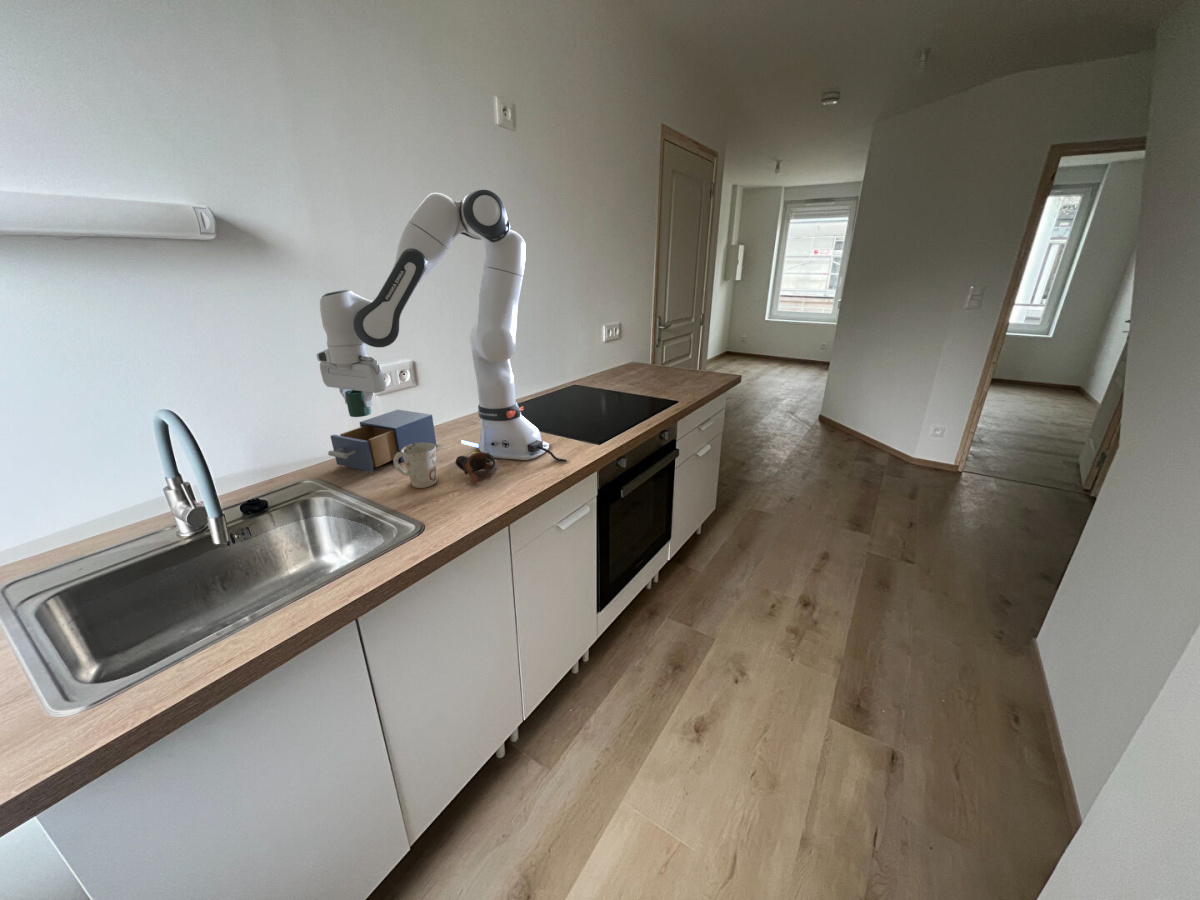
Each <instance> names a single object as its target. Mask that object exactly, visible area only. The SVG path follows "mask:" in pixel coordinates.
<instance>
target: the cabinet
mask: <svg viewBox="0 0 1200 900" xmlns="http://www.w3.org/2000/svg"><path fill="white" fill-rule="evenodd" d="M433 417H434V416H433V414H430V413H424V412H423V413H422V412H417V411H409V410H403V409H395V410H392V411H389V412H386V413H383V414H379V415H377V416H374V417H371V418H367V419H365V420H362V421H359V427H362V426H371V427H377V428H383V429H388V430H394V434H395V439H396V445H397V450H398V452H401V450H402V449H403V448H404V447H405V446H408V445H411V444H415V443H432V444H434V445H435V446H436V447H438V445H437V439H436V438H437V437H436V432H435V425H434V419H433ZM403 462H404V459H403V456H402V457H400V458H399V459H398V463H403Z"/></svg>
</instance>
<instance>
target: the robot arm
mask: <svg viewBox="0 0 1200 900" xmlns="http://www.w3.org/2000/svg"><path fill="white" fill-rule="evenodd" d="M458 235H463V236H466V237H468V238H471V239H473V240H480V241H481V240H482V242H483V244H484V248H485V257H484V261H483V268H482V275H481V280H480V287H479V294H478V315H477V322H476V323H474V325H473V326H472V327H471V330H470V333H469V341H470V348H471V349H470V350H471V355H472V363H473V367H474V372H475V373H474V374H475V378H476V379H475V380H476V386H477V396H478V405H477V410H478V411H477V412H478V417H479V420H480V433H479V443H475V442H470V441H467V440H463V439H462V440H461V444H462V445H465V446H470V447H474V448H477V449H478V451H479V452H485V453H489V454H491V455H492V456H493V457H494V458H495V459H506V460H517V461H529V460H532V459H536V458H538V457H539V456H541V455H543V454H544V453H547V454H549V455H550V456H551V457H552V458H553V459H554V460H555V461H557V462H563V463H567V461H568V460H567V459H565V458H559V457H557V456H555V454H554V453H553V452H552V451H551V450H549V449H550V445H549V442H546V441H544V440H542V435H541V432H540V430H539V428H538V427H536V426H535V424H533V423H532V422H530V421H529V419H527V418H526V417H524V416H523V415H522V411H524V405H522V406H520V407H519V404H518V403H517V401H516V388H515V377H514V374H513V370H512V369H513V368H512V364H511V358H512V357H513V356H514V354H515V352H516V347H517V344H516V343H517V342H516V341H517V340H516V339H517V331H518V330H517V328H518V311H519V303H520V301H519V300H520V297H521V296H520V295H521V290H522V284H523V278H524V272H525V263H526V241H525V240H524V238H523V237H522V236H521V234H519V233H518V232H517V231H515V230H513V229H511V224H510V220H509V217H508V214H507V209H506V207H505V204H504V202H503V200H502V199H501V197H500V196H499V195H498V194H497V193H496V192H494V191H492V190H490V189H487V188H476V189H473V190H471V191H470V192H469V193H468V194H467V195H465V197H464V198H463V199H462V200H458V201H457V200H454V199H453V198H451V197H450V196H449V195H446V194H445V193H441V192H432V193H429V194H428V195H427V196H426V197H425V198H424V199H423V200H422V201H421V202H420V203H419V205H418V207H417V208H416V209H415V211H413V213H412V215H411V217H410V219H409V220H408V222H407V223H406V225H405V227H404V229H403V231H402V233H401V236H400V239H399V243H398V246H397V249H396V256H395V261H394V263H393V267H392V269H391V271H390V274H389V275H388V277H387V278H386V280H385V282H384V283H383V285H382V287H381V289H380V291H379V292H378V294H377V296H376V297H375V299H374V300H370V299H368V298H366V297H362V296H361V295H358V294H356V293H355V292H354V291H352V290H350V289H341V290H335V291H331V292H327V293H325V294H323V295H322V296H321V297H320V299H319V311H320V319H321V323H322V328H323V330H324V331H325V334H326V346H327V348H326V349H324V350H322V351H319V352H318V353H316V359H317V361H318V362H319V370H320V375H321V379H322V382H323V384H324V385H325V386H326V387H328V388H334V389H339V393H340V394H341V396H342V397H343V399H344V403H345V405H347V401H346V397H345V392H346V391H350V390H356V391H362V392H363V395H365V397H364V400H363V401H362V403H363V406H364V407H370V408H371V407H372V406H373V403H372V400H373V396H374V394H377V393H381V392H382V393H383V392H385V391H386V388H387V384H386V383H387V382H386V379H385V376H384V372H383V370H382V368H381V365H380V363H379V361H377V359H375V357H373V356H368V352H367V347H366V345H367V346H370V347H373V348H385V347H388V346H391V345H392V344H393V343H394V342H396V340H397V338H398V336H399V333H400V319H401V316H402V313H403V311H404V309H405V307H406V305H407V304H408V302H409V300H410V298H411V297H412V294H413V292H414V291H415V289H416V288H417V286H418V285H419V284H420V282H421V281H423V279H424V278H426V277H427V276H428V275H430V273H431V272H432V271H433V270H434V269H435V268H436V267H437V266H438V265H439V264H440V262H441V261H442V260H443V259H444V257H445V256H446V254H447V253H448V250H449V249H450V248H451V245H452V244H453V242H454V240H455V239H456V238H457V236H458Z"/></svg>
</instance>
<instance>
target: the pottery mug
mask: <svg viewBox="0 0 1200 900" xmlns="http://www.w3.org/2000/svg"><path fill="white" fill-rule="evenodd" d="M488 459H490V461H491V463H492V464H491V463H489V462H487V460H488ZM455 464H456V466H457V467H458V468H459V469H460V470H462V471H463V473H464V475H469V476H470V480H469V482H470V484H472V485H474V486H476V485H477V484H478V483H480V482H483V481H486V480H489V479H491V478H492V477H493V476H494V475H495V474H496V472H497V471H498V470H500V469H499V467H498V465H497V460H496V458H494V457H493V456H492V455H491V454H489V453H485V452H481V451H476V452H474V453H472V454H470V455H469V456H465V455H459V456H457V457H456V459H455Z"/></svg>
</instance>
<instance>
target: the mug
mask: <svg viewBox="0 0 1200 900" xmlns="http://www.w3.org/2000/svg"><path fill="white" fill-rule="evenodd" d="M402 456H403V459H404V461H403V462H404V466H405V468H406V471H405V470H403V469H402V467H401V466H400V464H399V462H398V459H399V458H400V457H402ZM392 463H393V466H394V468H395V469H396V470H397V471H398V472H399V473H400V474H402V475H403V476H408V477H409V480H410V483H411V486H412V487H413V488H417V489H425V488H428V487H432V486H434V485H435V484H436V483H437V446H435V445H434V444H432V443H415V444H411V445H408V446H405V447H404V448H403V449H402V450H401V452H398V453H397V454H396V455H395V456H394V460H392Z"/></svg>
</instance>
